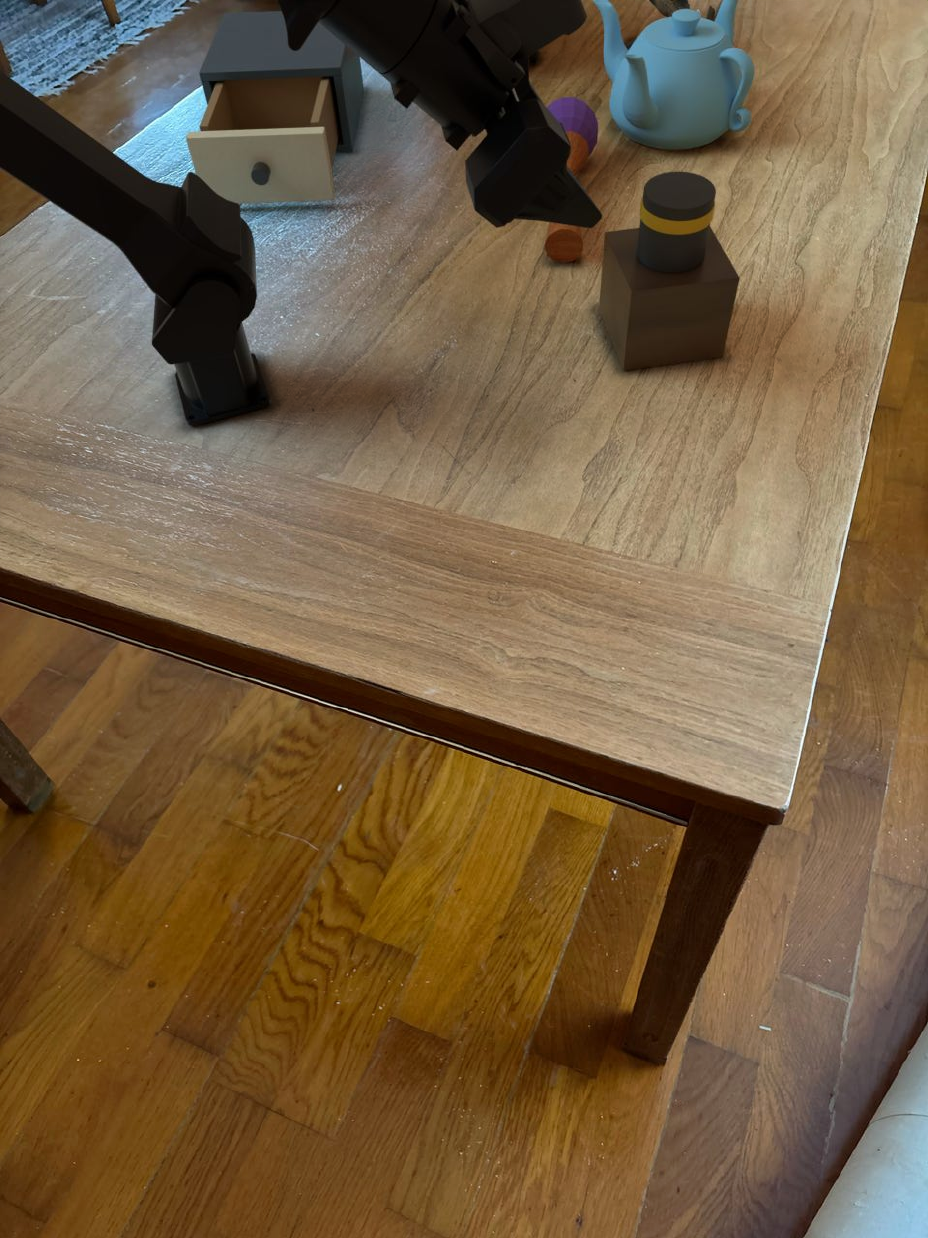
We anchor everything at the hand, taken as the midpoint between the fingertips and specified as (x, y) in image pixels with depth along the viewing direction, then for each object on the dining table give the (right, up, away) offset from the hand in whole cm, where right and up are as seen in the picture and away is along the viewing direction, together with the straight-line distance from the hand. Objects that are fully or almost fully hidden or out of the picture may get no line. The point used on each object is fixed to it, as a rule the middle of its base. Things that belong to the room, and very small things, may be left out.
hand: (581, 185), depth 64 cm
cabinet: (-26, +23, +35) cm, 49 cm away
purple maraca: (+1, +9, +23) cm, 25 cm away
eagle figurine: (+15, +34, +41) cm, 56 cm away
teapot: (+12, +21, +31) cm, 40 cm away
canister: (+7, -3, +5) cm, 9 cm away
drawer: (-26, +14, +27) cm, 40 cm away
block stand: (+8, -7, +11) cm, 15 cm away
